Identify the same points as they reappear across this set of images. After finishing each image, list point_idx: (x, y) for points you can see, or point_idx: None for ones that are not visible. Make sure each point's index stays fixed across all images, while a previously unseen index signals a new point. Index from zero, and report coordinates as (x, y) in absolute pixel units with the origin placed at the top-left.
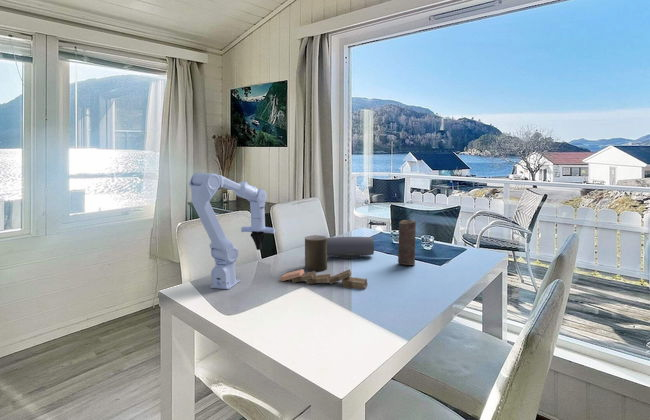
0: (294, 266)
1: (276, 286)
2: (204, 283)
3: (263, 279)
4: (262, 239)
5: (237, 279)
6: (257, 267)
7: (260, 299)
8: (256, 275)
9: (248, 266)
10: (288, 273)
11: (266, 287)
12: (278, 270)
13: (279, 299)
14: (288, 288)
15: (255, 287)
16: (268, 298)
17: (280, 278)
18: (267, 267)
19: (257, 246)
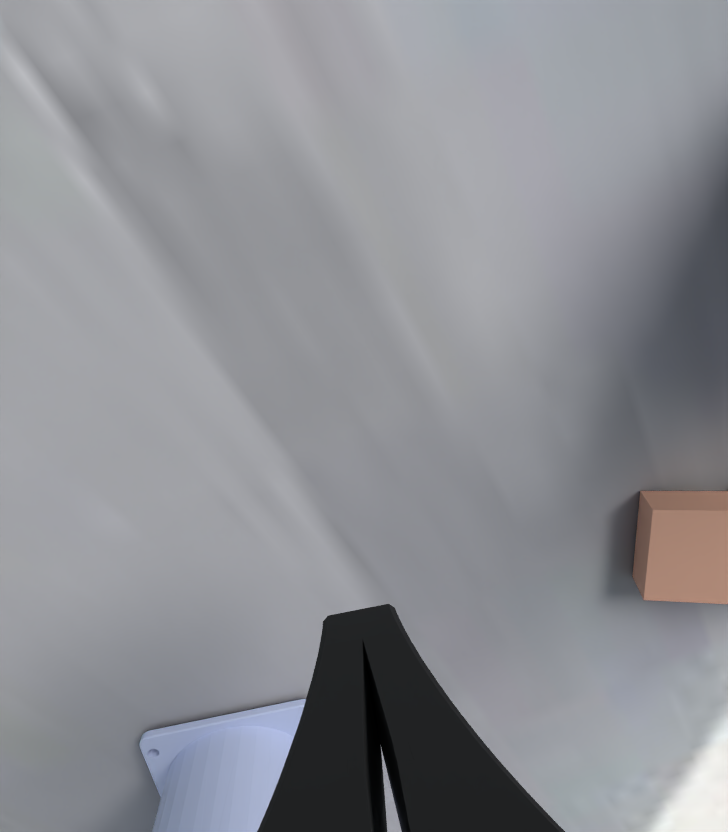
0: (637, 128)
1: (626, 661)
2: (76, 824)
3: (471, 596)
4: (496, 820)
5: (285, 712)
6: (215, 336)
7: (599, 825)
8: (360, 546)
9: (81, 343)
10: (716, 540)
11: (564, 700)
12: (503, 341)
13: (702, 785)
14: (717, 655)
15: (489, 728)
16: (638, 800)
17: (641, 594)
18: (332, 291)
19: (382, 774)
